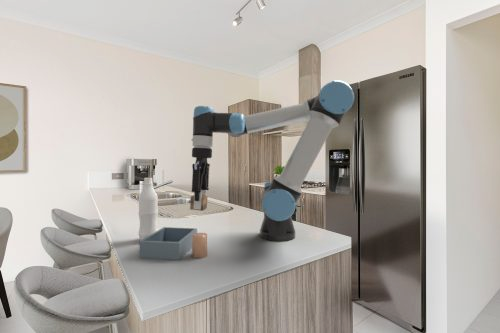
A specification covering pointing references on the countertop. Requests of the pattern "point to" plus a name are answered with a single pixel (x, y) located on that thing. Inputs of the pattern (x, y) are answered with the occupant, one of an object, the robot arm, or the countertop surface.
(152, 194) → the water bottle
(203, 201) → the cube
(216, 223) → the countertop surface
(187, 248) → the tote
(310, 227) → the countertop surface
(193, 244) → the capsule
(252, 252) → the countertop surface
